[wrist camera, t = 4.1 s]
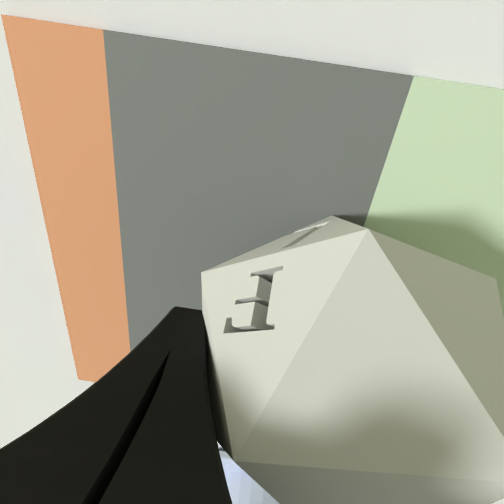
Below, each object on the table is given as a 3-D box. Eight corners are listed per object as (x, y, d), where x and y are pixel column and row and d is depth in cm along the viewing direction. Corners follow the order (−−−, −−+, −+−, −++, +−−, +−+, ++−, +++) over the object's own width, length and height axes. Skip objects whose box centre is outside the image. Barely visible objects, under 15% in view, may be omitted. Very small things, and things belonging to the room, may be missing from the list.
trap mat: (543, 452, 17) (545, 456, 17) (80, 376, 18) (78, 379, 18) (867, 143, 9) (878, 145, 9) (6, 15, 10) (1, 14, 9)
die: (474, 178, 11) (410, 136, 4) (543, 428, 11) (634, 960, 3) (278, 236, 16) (80, 270, 9) (322, 407, 16) (159, 598, 8)
